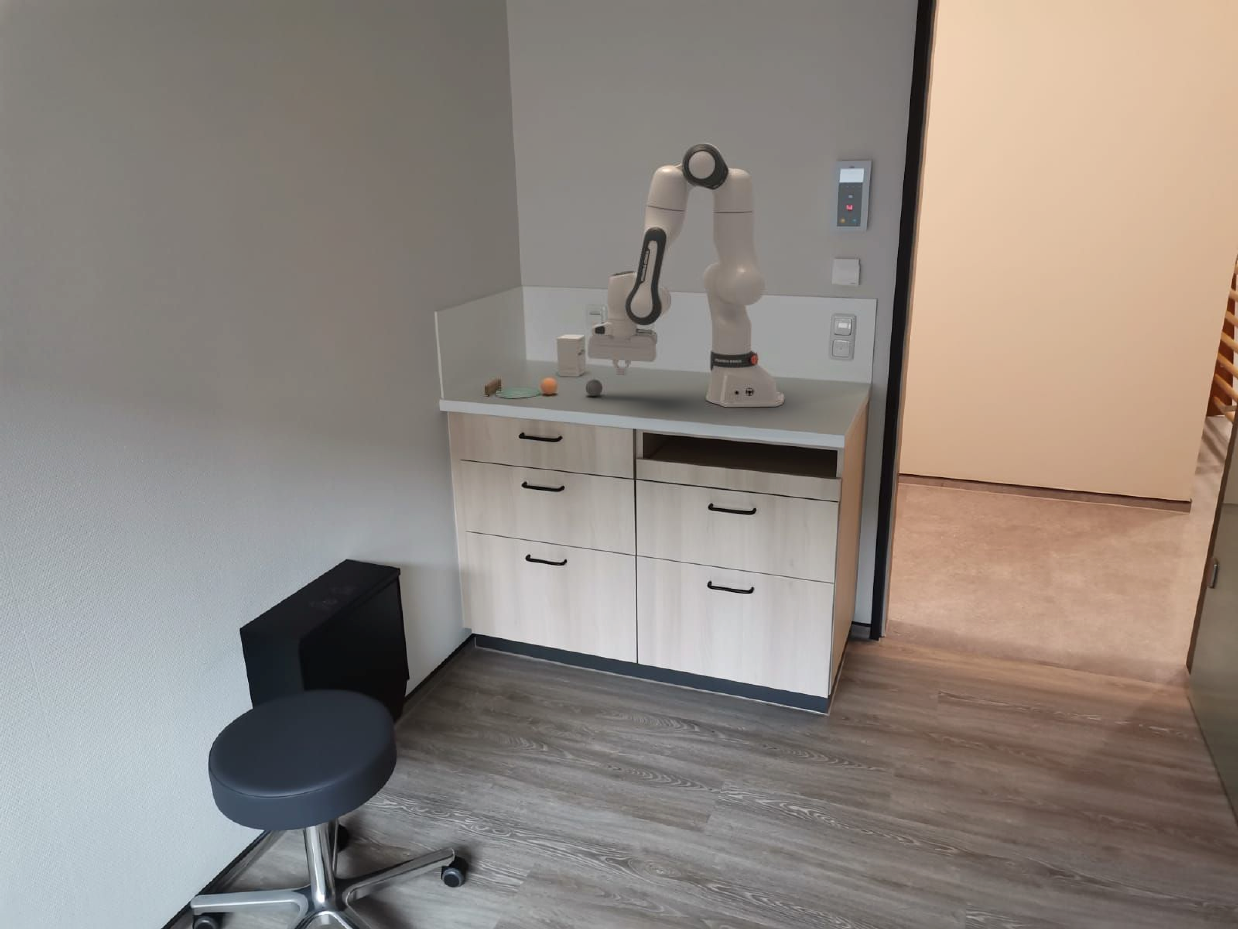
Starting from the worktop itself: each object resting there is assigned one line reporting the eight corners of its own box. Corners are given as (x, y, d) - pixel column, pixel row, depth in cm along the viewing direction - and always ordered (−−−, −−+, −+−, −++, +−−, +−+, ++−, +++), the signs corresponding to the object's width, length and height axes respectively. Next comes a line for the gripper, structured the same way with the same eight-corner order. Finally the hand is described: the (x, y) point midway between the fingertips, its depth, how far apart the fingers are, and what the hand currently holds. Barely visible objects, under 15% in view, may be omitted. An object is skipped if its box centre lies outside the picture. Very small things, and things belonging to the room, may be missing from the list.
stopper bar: (501, 388, 285) (500, 378, 284) (489, 396, 276) (489, 386, 275) (496, 388, 286) (496, 378, 285) (485, 396, 276) (484, 386, 275)
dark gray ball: (604, 394, 275) (604, 377, 274) (600, 398, 271) (599, 381, 269) (588, 393, 277) (587, 377, 275) (584, 397, 272) (583, 381, 270)
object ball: (559, 392, 279) (559, 376, 277) (555, 396, 274) (554, 380, 272) (544, 391, 280) (543, 375, 278) (539, 396, 275) (538, 379, 273)
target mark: (546, 388, 284) (546, 387, 284) (532, 399, 271) (532, 399, 271) (504, 386, 287) (504, 386, 287) (488, 397, 274) (488, 397, 274)
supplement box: (578, 377, 297) (577, 338, 293) (557, 376, 300) (555, 337, 296) (586, 372, 304) (585, 334, 300) (566, 371, 306) (564, 333, 302)
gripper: (659, 327, 266) (658, 374, 270) (591, 324, 270) (591, 370, 274) (655, 331, 260) (654, 379, 264) (585, 327, 264) (585, 374, 269)
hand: (621, 374), depth 269 cm, fingers closed
